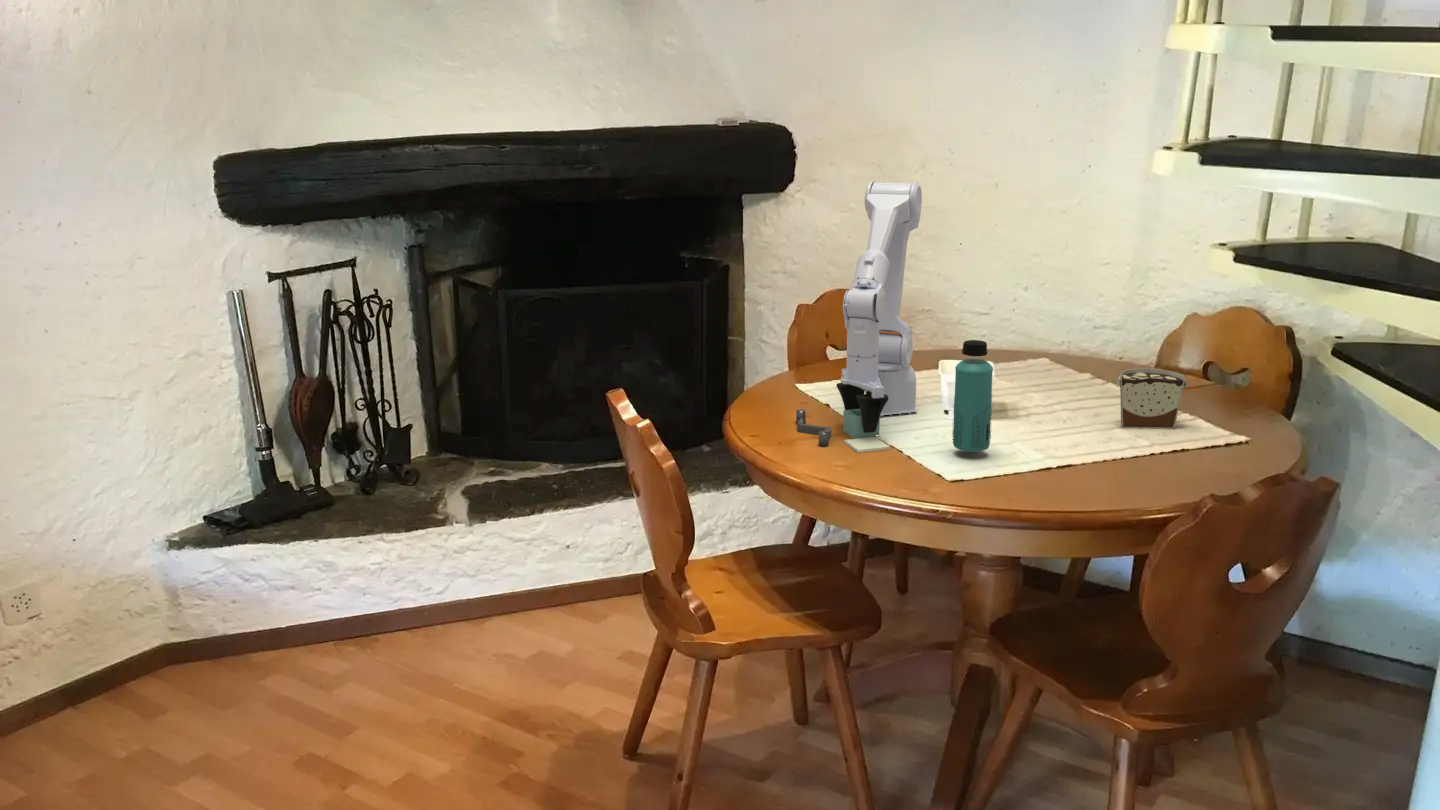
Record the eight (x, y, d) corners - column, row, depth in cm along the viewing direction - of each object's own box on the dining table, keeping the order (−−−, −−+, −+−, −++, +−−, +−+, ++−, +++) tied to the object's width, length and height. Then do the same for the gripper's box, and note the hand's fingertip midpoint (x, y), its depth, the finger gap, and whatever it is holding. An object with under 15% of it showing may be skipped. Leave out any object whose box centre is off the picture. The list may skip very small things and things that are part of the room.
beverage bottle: (990, 461, 189) (996, 346, 183) (950, 459, 190) (955, 345, 184) (989, 449, 195) (995, 337, 189) (950, 447, 196) (955, 336, 191)
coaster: (875, 439, 201) (875, 436, 201) (889, 449, 196) (889, 446, 195) (844, 442, 199) (844, 440, 199) (857, 452, 194) (857, 450, 194)
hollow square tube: (867, 428, 207) (868, 407, 206) (879, 436, 203) (879, 415, 202) (843, 431, 206) (843, 410, 205) (853, 438, 201) (854, 417, 200)
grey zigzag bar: (811, 420, 213) (811, 408, 212) (843, 444, 198) (843, 431, 198) (787, 422, 212) (787, 410, 211) (817, 447, 197) (817, 434, 196)
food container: (1173, 419, 210) (1178, 368, 207) (1182, 429, 204) (1188, 376, 201) (1105, 418, 211) (1110, 367, 208) (1113, 428, 205) (1118, 375, 203)
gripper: (826, 347, 206) (825, 417, 210) (858, 365, 192) (856, 439, 196) (861, 344, 208) (860, 413, 212) (895, 361, 194) (893, 435, 198)
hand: (861, 426), depth 204 cm, fingers open, 7 cm apart
